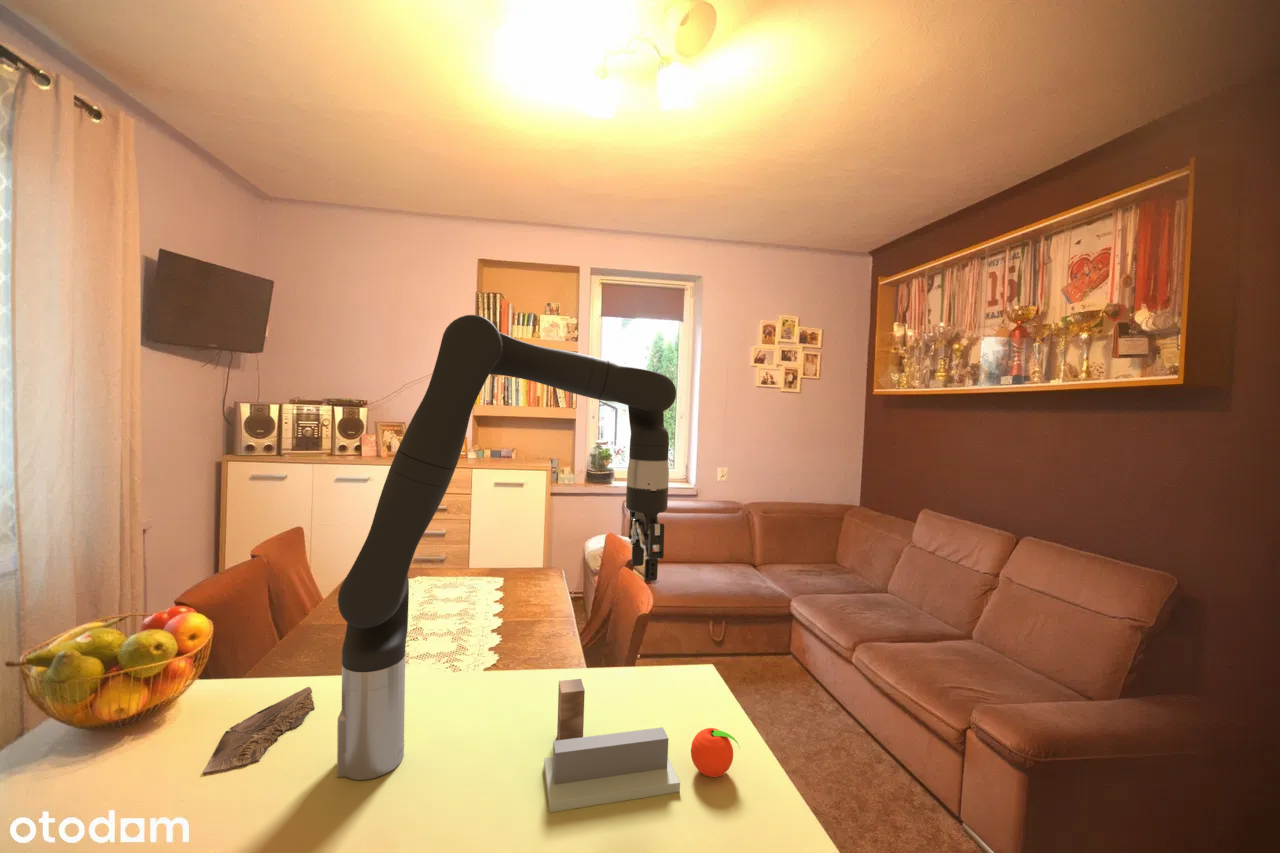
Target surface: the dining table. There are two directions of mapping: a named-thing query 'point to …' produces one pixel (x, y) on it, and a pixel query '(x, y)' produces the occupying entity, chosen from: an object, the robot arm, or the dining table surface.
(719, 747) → the clementine
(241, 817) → the dining table surface
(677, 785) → the ridge stand
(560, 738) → the walnut post
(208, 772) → the wooden fragment
